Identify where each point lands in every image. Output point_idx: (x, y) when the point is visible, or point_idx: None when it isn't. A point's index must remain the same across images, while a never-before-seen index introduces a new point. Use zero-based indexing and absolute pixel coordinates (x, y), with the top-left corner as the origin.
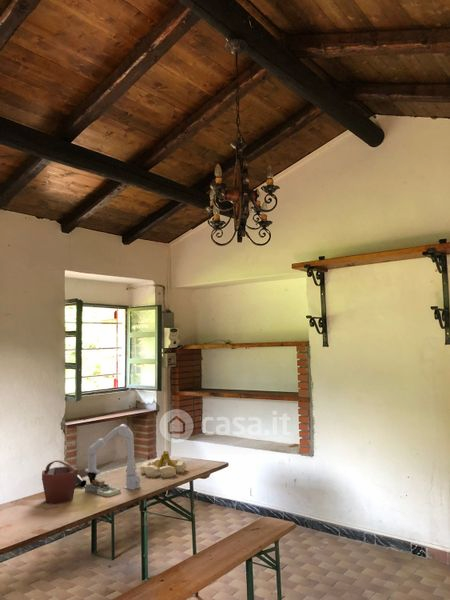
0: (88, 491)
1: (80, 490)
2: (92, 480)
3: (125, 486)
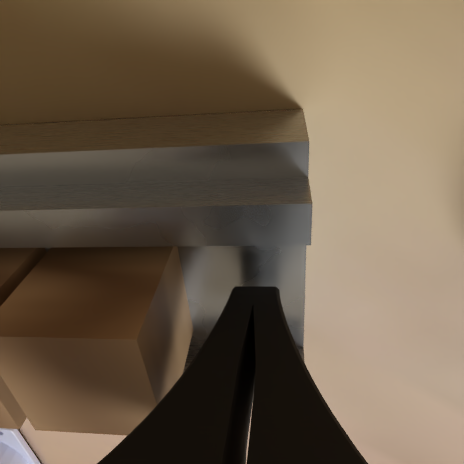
0: (177, 117)
1: (432, 72)
2: (113, 337)
3: (18, 444)
